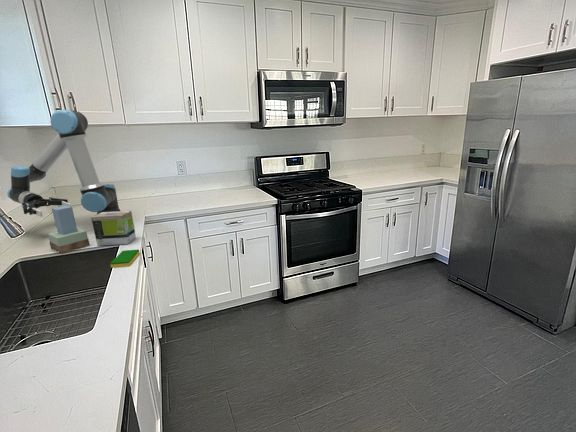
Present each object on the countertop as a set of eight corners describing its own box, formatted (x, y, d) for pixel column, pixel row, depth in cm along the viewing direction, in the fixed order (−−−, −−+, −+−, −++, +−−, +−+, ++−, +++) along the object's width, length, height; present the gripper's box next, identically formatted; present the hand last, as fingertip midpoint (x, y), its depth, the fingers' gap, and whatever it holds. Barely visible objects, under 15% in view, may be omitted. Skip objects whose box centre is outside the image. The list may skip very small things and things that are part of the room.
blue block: (71, 229, 155) (65, 205, 152) (77, 231, 152) (71, 206, 149) (57, 233, 150) (51, 208, 147) (63, 234, 147) (57, 210, 144)
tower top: (77, 234, 160) (76, 227, 159) (88, 238, 153) (86, 231, 152) (50, 241, 151) (48, 233, 150) (59, 246, 144) (57, 238, 143)
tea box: (136, 237, 163) (131, 210, 159) (127, 244, 153) (122, 215, 149) (107, 239, 163) (101, 211, 159) (96, 246, 153) (90, 216, 149)
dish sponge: (111, 268, 128) (109, 263, 128) (123, 255, 141) (122, 250, 141) (129, 267, 129) (128, 261, 128) (140, 254, 142) (139, 249, 142)
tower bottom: (78, 241, 161) (76, 234, 160) (90, 246, 155) (88, 238, 154) (51, 249, 152) (49, 241, 151) (62, 254, 145) (60, 246, 144)
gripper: (57, 201, 177) (82, 210, 169) (4, 213, 156) (29, 224, 148) (55, 188, 175) (80, 197, 167) (0, 198, 153) (26, 209, 145)
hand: (56, 210), depth 157 cm, fingers open, 13 cm apart
